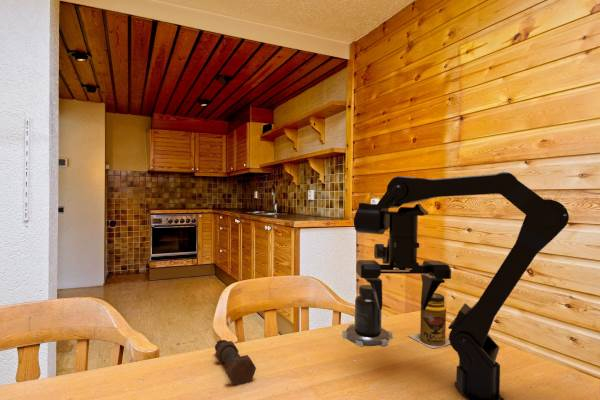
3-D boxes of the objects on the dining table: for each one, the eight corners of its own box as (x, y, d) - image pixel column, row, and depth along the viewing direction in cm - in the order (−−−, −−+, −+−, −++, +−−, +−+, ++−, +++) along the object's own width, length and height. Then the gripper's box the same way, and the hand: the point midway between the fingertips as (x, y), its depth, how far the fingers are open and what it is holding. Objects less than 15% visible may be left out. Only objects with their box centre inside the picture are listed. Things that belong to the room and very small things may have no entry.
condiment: (433, 349, 87) (434, 300, 87) (407, 336, 95) (408, 291, 94) (453, 343, 91) (454, 296, 90) (427, 332, 98) (428, 288, 98)
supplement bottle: (368, 325, 98) (369, 282, 98) (386, 334, 93) (387, 288, 92) (349, 330, 95) (349, 285, 95) (367, 339, 89) (367, 291, 89)
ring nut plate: (384, 328, 100) (385, 323, 100) (398, 346, 88) (398, 341, 88) (339, 328, 100) (339, 323, 100) (346, 346, 88) (346, 341, 88)
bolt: (224, 361, 83) (246, 390, 70) (205, 354, 81) (224, 383, 68) (236, 337, 85) (260, 361, 72) (218, 329, 83) (239, 353, 69)
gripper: (431, 232, 84) (429, 298, 84) (352, 231, 83) (350, 298, 83) (453, 238, 73) (451, 314, 73) (362, 237, 72) (360, 314, 72)
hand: (401, 309), depth 76 cm, fingers open, 9 cm apart
